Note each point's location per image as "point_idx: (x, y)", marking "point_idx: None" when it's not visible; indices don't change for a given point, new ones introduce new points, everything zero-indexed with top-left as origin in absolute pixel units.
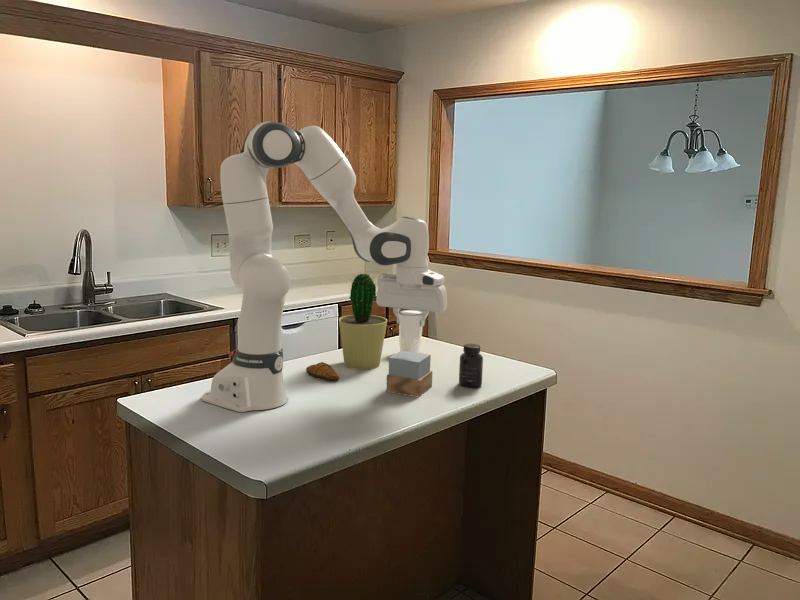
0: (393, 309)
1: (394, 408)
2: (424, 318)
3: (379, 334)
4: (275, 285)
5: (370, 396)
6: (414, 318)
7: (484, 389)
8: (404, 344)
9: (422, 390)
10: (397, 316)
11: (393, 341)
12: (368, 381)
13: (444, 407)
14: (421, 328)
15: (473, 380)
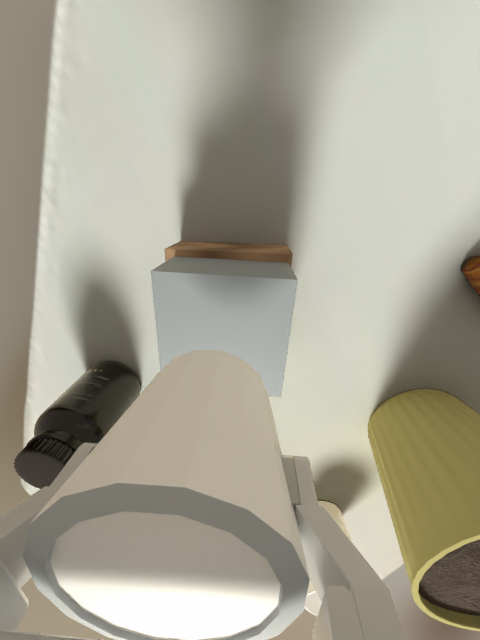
0: (395, 626)
1: (203, 85)
2: (24, 511)
3: (412, 506)
4: None
5: (319, 172)
6: (79, 472)
7: (72, 365)
8: None
9: None
10: (312, 517)
11: (376, 566)
12: (363, 307)
13: (79, 183)
14: None
15: (84, 373)
